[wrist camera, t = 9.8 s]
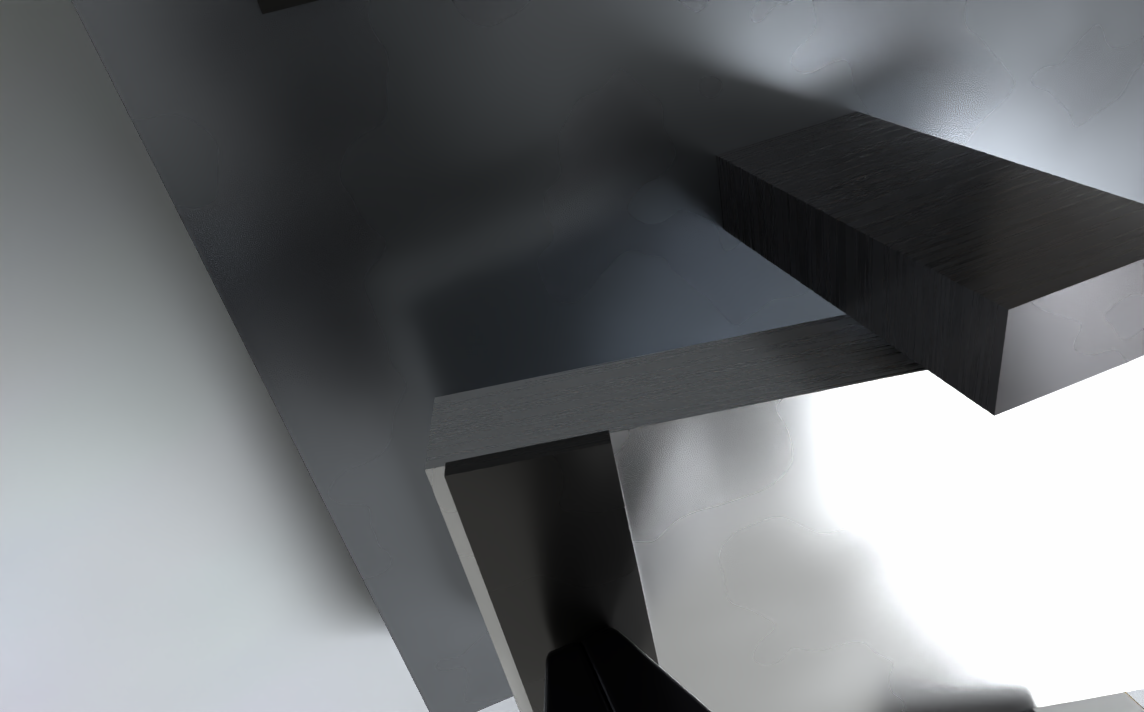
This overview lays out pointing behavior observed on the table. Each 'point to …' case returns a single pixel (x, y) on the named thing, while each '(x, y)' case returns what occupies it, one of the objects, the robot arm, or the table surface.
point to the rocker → (805, 525)
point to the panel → (626, 211)
